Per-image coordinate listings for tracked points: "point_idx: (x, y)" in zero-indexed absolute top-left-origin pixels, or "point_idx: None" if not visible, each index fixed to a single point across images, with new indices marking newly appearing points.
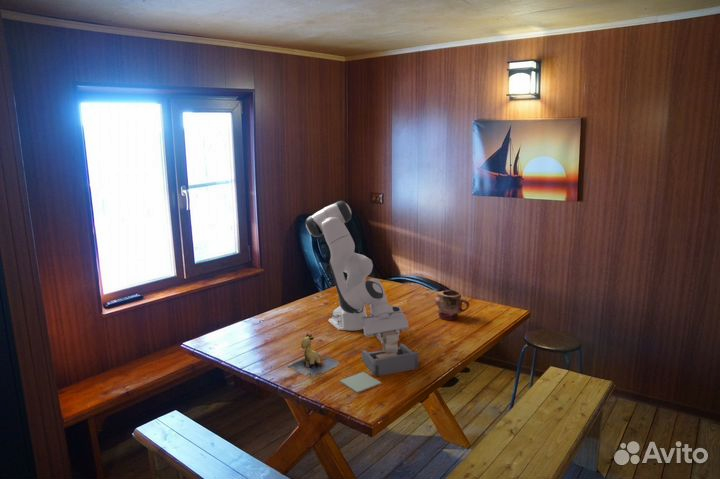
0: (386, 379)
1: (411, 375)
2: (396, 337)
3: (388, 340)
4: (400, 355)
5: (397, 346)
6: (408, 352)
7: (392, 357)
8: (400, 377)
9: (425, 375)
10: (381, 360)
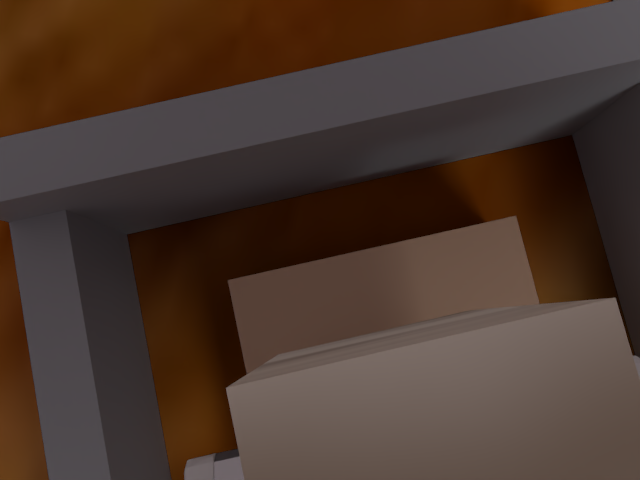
0: (486, 3)
1: (197, 52)
2: (270, 370)
3: (508, 314)
4: (275, 105)
5: (270, 360)
6: (98, 388)
7: (422, 52)
8: (326, 25)
9: (47, 30)
10: (609, 9)
